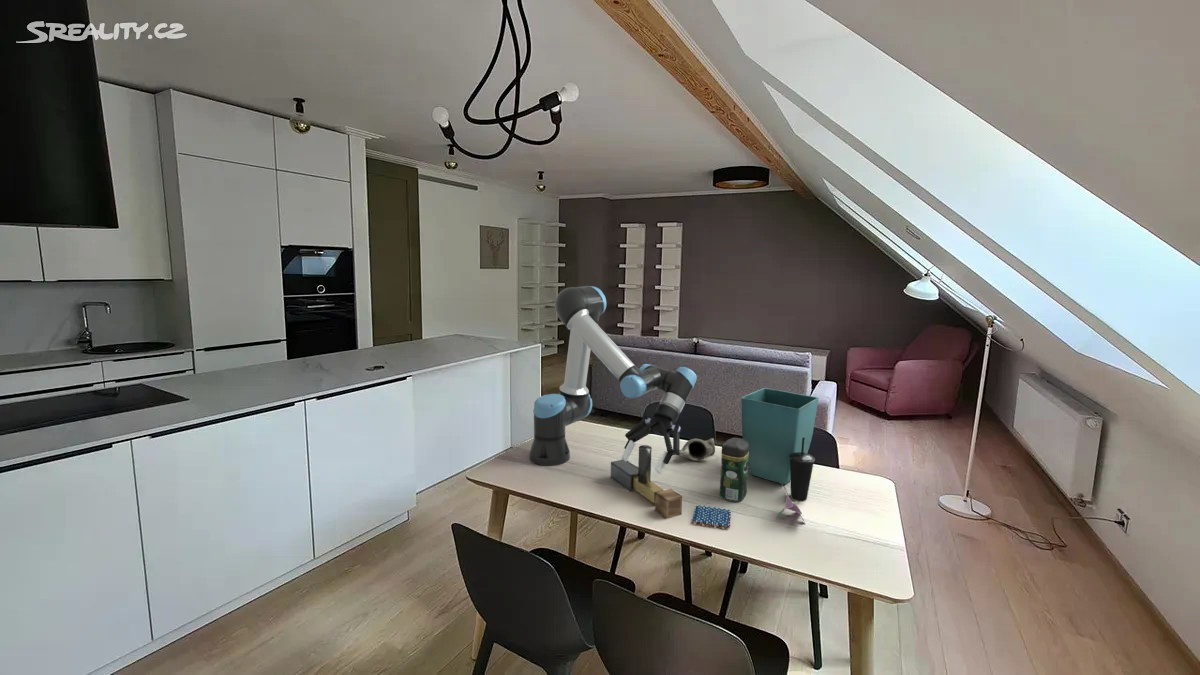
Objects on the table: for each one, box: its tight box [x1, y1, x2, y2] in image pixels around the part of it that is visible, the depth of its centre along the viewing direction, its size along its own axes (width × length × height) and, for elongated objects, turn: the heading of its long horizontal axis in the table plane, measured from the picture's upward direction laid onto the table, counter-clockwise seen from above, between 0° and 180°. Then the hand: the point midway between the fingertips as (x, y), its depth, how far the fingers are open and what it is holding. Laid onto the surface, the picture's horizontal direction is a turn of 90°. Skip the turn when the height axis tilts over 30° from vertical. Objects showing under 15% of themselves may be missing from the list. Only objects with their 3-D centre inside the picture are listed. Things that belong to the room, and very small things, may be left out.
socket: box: [654, 488, 683, 520], centre depth 153 cm, size 6×6×6 cm
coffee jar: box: [719, 437, 749, 502], centre depth 163 cm, size 10×8×19 cm
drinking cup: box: [789, 437, 816, 502], centre depth 163 cm, size 8×8×20 cm
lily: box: [776, 483, 805, 522], centre depth 150 cm, size 12×12×10 cm
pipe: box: [678, 437, 716, 462], centre depth 195 cm, size 16×9×15 cm
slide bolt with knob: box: [631, 444, 665, 504], centre depth 166 cm, size 23×4×15 cm, turn 30°
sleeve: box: [610, 458, 638, 493], centre depth 172 cm, size 12×6×6 cm, turn 30°
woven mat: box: [691, 504, 732, 531], centre depth 150 cm, size 10×11×2 cm
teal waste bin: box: [740, 387, 819, 485], centre depth 179 cm, size 20×20×28 cm
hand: (640, 465), depth 161 cm, fingers open, 13 cm apart
